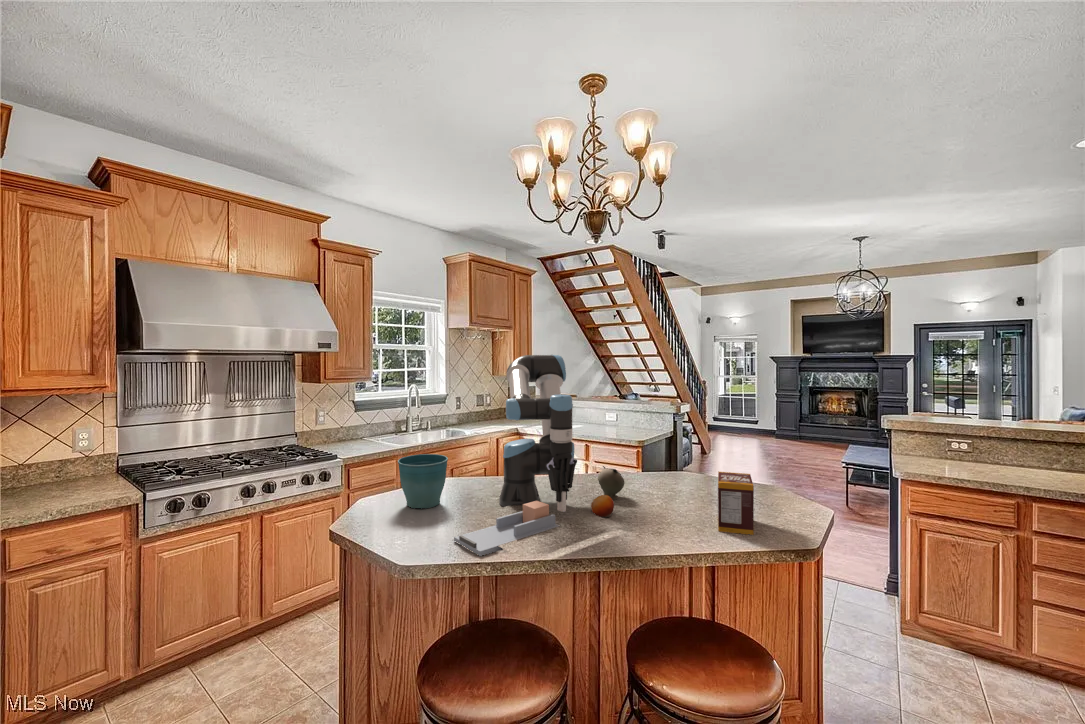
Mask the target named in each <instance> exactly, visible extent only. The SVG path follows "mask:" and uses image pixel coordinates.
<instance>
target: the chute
mask: <svg viewBox="0 0 1085 724" xmlns="http://www.w3.org/2000/svg"><path fill="white" fill-rule="evenodd" d="M495 522H496V523H495V525H491V526H488V527H484V528H480V529H478V530H474V531H471V532H467V533H464V534H460V535H457V536H453V542H454V541H456V542H458V543H460V544H461V545H463V546H465V547H466V548H468V549H469V550H471V551H473V552H474V553H476V554H478V555H479V556H478V555H477V556H478V557H480V556H481V557H483V556H482V555H484V556H486V555H485V554H487V555H490V554H493V553H496V552H499V551H502V550H504V548H503V547H501V546H502V545H505V544H507V543H511V542H514V541H517V540H521V539H524V538H527V537H531V536H533V535H536V534H539V533H542V532H546V531H549V530H552V529H554V528H558V527H560V525H559V524H556V514H549V516H545V517H541V518H538V519H535V520H532V521H529V522H525V523H523V510H522V511H521V510H520V511H518V512H514V513H511V514H507V515H503V516H499V517H496V520H495ZM466 548H465V549H466ZM469 550H468V551H469ZM471 551H470V552H471ZM473 552H472V553H473ZM492 552H493V553H492ZM474 553H473V554H474ZM489 553H490V554H489ZM476 554H475V555H476Z"/></svg>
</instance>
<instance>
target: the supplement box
mask: <svg viewBox="0 0 1085 724" xmlns="http://www.w3.org/2000/svg"><path fill="white" fill-rule="evenodd" d="M717 473H718V474H717V475H718V476H717V477H718V478H717V524H718V525H717V527H718V529H717V530H718V531H717V532H722V533H731V534H739V533H741V535H748V534H750V536H754V530H755V529H754V526H755V525H754V517H755V516H754V511H755V509H754V508H755V507H754V506H755V505H754V499H755V498H754V496H755V495H754V494H755V491H754V489H755V487H754V482H753V479H752V477H751V473H744V472H742V473H740V472H729V471H728V472H727V471H718V472H717Z"/></svg>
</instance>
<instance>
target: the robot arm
mask: <svg viewBox="0 0 1085 724" xmlns="http://www.w3.org/2000/svg"><path fill="white" fill-rule="evenodd" d="M566 378H567V371H566V364H565V360H564V357H562V355H559V354H547V355H546V354H525V355H521V356H519V357H517V358H516V359H514V360H513V361H512V362H510V364H509V366H508V367H507V369H506V380H507V382H508V383H509V396H510V398H508V399H506V401H505V417H506V419H507V420H510V421H527V420H528V421H529V420H530V421H531V420H532V421H533V420H541V428H542V436H541V437H540V438H539V442H536V441H535V439H534V438H519V439H516V440H512V441H509V442H507V443H506V444H504V447H503V455H502V458H503V485H502V487H501V491H500V494H499V496H498V500H499V501H498V503H499V505H500V506H501V507H503V508H506V507H509V506H523V504H526V503H530V502H533V501H540V500H541V499H540V497H541V496H540V494H539V491H538V488H537V484H536V476H537V475H540V476H541V475H548V480H549V487H550V489H551V491H552V492H555V500H556V503H557V504H556V505H557V506H556V507H557V511H559V512H562V513H564V512H566V511H567V500H568V492H570V489H571V488H572V487H573V481H574V477H575V476H574V475H575V469H576V465H577V463H578V460H577V458H576V459H575V443H574V442H573V441H572V440H573V407H574V404H573V396H572V395H570V394H561V387H562V386H563V385H564V382H566ZM530 383H535V386H536V388H538V389H539V397H537V398H535V397H534V398H532V397H531V390H530V389H531V388H530Z"/></svg>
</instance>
